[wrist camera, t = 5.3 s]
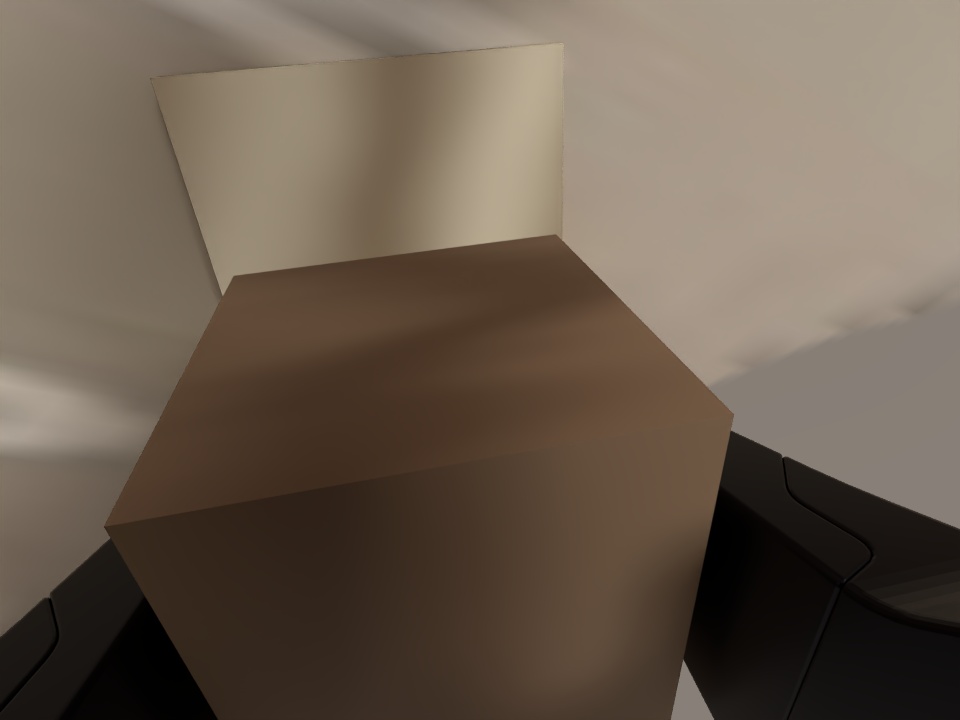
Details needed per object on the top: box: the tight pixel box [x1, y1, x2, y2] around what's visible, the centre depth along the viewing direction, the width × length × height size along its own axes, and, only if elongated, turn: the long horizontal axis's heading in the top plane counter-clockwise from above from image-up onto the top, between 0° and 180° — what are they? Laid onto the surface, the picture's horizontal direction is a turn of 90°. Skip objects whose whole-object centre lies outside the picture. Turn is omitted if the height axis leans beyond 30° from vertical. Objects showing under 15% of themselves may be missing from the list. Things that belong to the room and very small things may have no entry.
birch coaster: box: [150, 43, 564, 296], centre depth 16 cm, size 10×10×1 cm
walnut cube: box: [104, 234, 734, 720], centre depth 8 cm, size 5×5×5 cm
